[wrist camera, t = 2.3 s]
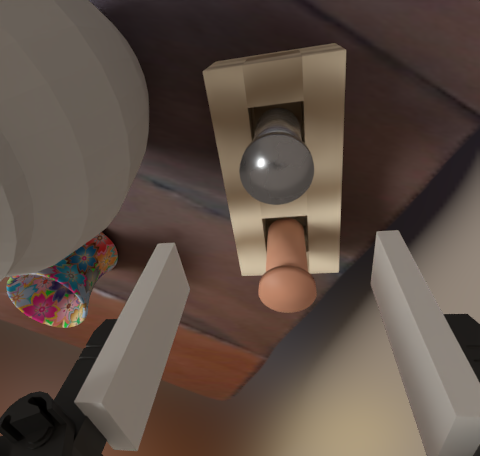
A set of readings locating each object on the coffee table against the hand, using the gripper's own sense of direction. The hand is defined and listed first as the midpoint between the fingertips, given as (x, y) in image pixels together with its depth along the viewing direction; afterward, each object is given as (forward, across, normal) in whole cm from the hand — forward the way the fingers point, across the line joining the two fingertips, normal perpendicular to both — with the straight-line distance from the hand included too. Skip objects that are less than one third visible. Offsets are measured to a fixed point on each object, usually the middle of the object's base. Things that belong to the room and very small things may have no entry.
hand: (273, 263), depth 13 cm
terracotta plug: (+18, 0, -11) cm, 21 cm away
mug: (+23, -29, -14) cm, 40 cm away
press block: (+23, 0, -6) cm, 24 cm away
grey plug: (+18, 0, 0) cm, 18 cm away
